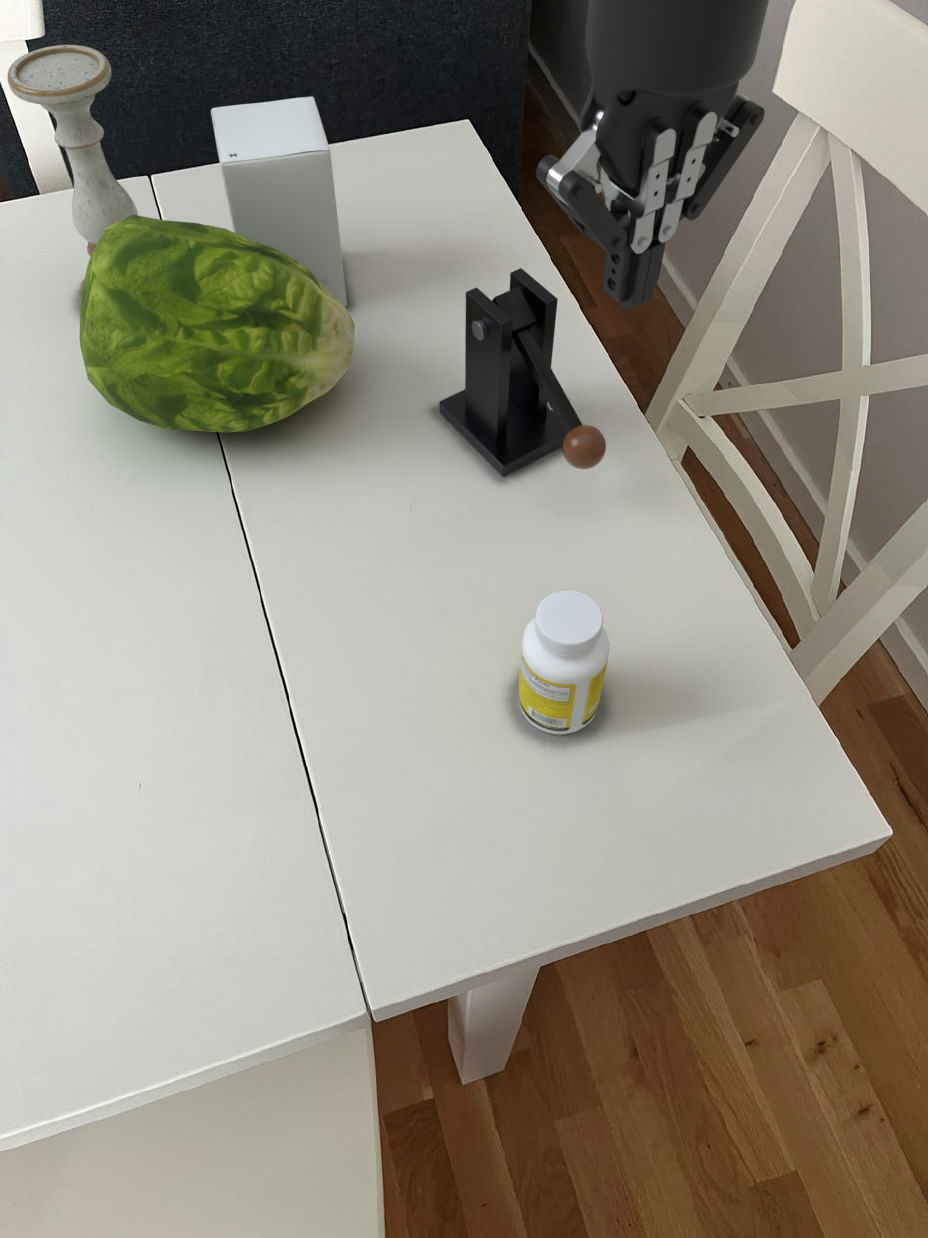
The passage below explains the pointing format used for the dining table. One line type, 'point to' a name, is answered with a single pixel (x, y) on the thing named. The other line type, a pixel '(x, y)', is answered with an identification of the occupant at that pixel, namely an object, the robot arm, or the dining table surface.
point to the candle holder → (76, 129)
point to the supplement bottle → (563, 663)
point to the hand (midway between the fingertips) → (628, 297)
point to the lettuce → (207, 327)
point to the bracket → (505, 382)
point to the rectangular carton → (282, 183)
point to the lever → (551, 385)
